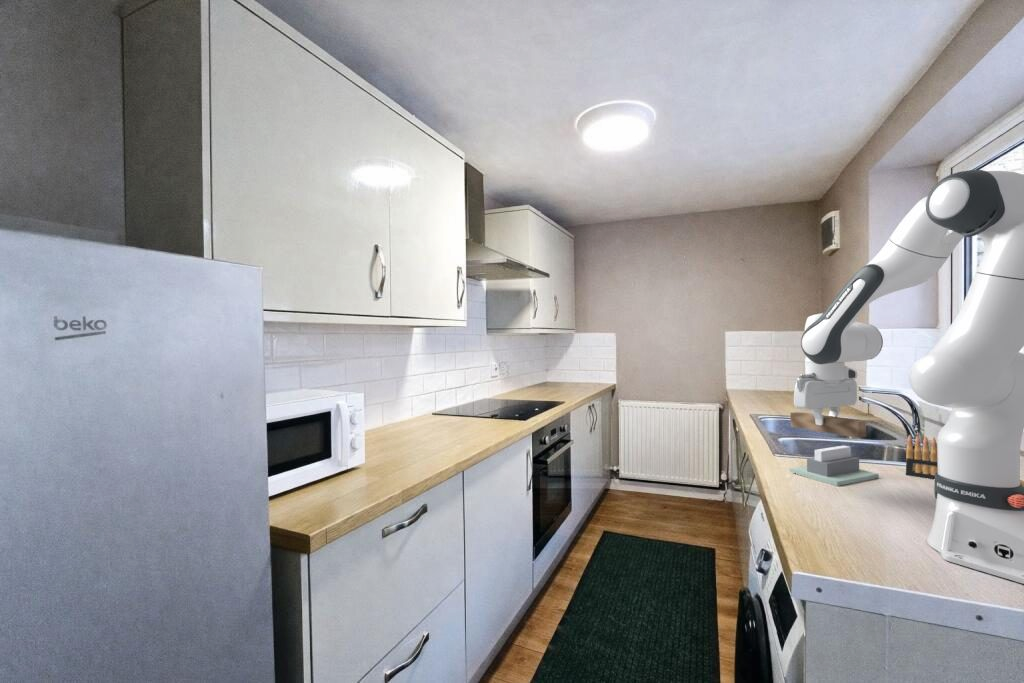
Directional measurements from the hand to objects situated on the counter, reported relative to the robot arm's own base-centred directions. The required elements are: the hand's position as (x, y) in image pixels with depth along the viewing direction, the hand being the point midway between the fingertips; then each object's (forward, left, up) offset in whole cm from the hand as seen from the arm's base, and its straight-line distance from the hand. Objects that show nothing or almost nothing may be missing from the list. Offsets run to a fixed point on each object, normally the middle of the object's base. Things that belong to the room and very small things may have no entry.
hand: (826, 424), depth 123 cm
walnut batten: (0, 0, -2) cm, 2 cm away
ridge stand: (+8, -15, -18) cm, 25 cm away
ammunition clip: (-5, -37, -18) cm, 42 cm away
